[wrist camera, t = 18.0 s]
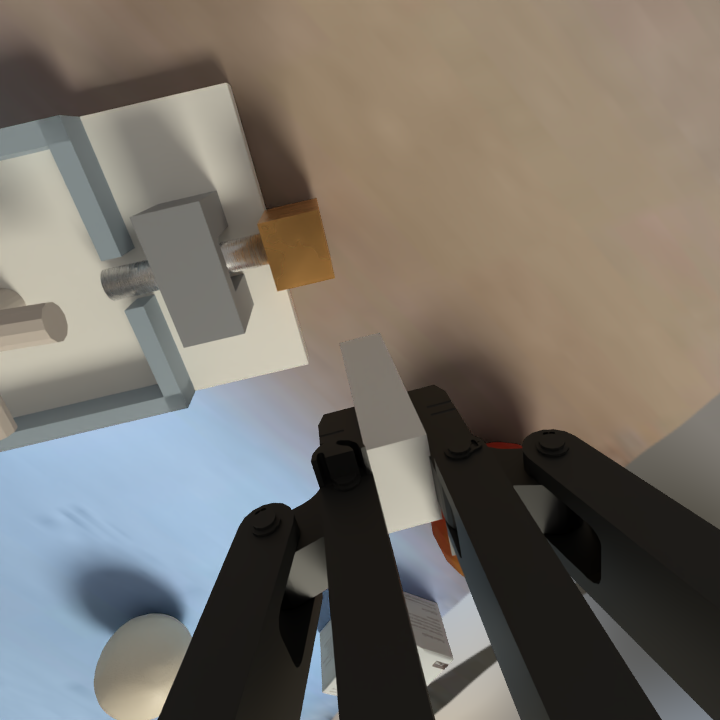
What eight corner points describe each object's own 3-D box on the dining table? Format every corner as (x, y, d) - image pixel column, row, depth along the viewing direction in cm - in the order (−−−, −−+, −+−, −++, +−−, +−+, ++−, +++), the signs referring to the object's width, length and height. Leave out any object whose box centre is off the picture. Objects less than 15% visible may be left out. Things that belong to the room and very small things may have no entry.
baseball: (97, 639, 38) (59, 732, 32) (138, 584, 36) (104, 673, 30) (174, 662, 41) (152, 754, 35) (216, 612, 39) (200, 700, 32)
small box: (317, 632, 41) (318, 694, 36) (365, 574, 39) (373, 633, 34) (390, 654, 44) (400, 715, 39) (440, 601, 41) (457, 660, 36)
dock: (-35, 436, 29) (-105, 498, 24) (-212, 187, 23) (-358, 202, 18) (308, 355, 29) (308, 400, 24) (230, 85, 23) (209, 70, 18)
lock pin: (135, 302, 26) (104, 332, 22) (109, 246, 25) (72, 266, 21) (330, 256, 26) (334, 278, 22) (316, 197, 25) (318, 209, 21)
